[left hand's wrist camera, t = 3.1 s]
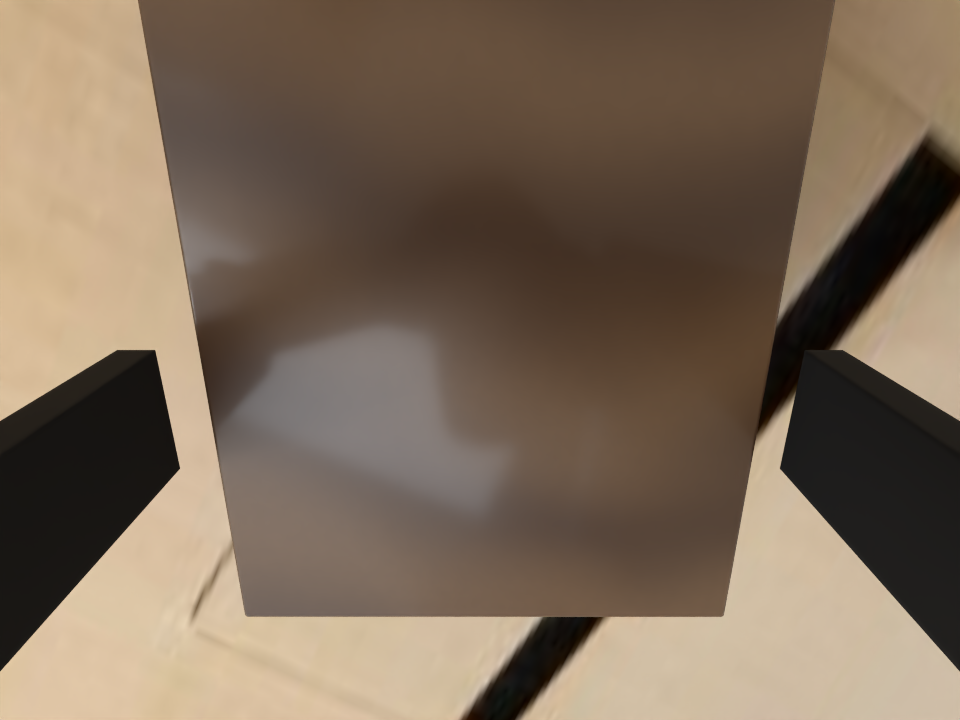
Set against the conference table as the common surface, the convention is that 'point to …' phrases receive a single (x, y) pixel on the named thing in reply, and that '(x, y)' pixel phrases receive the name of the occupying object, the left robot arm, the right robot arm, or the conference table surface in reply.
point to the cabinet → (485, 289)
